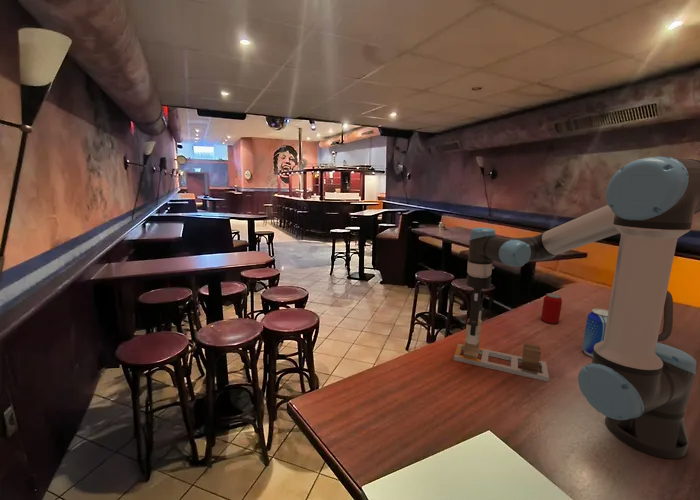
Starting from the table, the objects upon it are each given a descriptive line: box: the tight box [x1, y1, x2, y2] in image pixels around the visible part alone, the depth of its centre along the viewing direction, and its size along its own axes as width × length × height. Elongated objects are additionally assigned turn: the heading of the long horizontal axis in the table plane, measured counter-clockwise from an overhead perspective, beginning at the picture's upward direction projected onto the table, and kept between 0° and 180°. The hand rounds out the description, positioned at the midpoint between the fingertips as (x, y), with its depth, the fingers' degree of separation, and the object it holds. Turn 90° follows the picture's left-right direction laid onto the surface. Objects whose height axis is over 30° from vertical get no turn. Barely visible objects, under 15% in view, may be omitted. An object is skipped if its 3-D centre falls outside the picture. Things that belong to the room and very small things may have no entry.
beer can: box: [581, 308, 609, 358], centre depth 120 cm, size 8×8×16 cm
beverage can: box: [540, 292, 563, 325], centre depth 148 cm, size 7×7×12 cm
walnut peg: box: [520, 342, 542, 373], centre depth 110 cm, size 4×4×8 cm
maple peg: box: [463, 317, 483, 359], centre depth 117 cm, size 4×4×13 cm
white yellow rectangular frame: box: [453, 343, 550, 382], centre depth 114 cm, size 10×28×2 cm, turn 65°
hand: (474, 335), depth 116 cm, fingers open, 13 cm apart
